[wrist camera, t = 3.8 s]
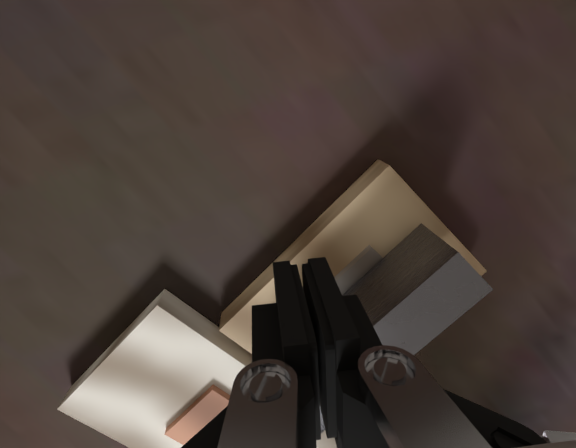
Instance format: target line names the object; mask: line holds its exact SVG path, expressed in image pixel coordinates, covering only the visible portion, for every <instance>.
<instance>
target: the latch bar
mask: <svg viewBox="0 0 576 448" xmlns="http://www.w3.org/2000/svg"><path fill="white" fill-rule="evenodd" d="M492 290H493V288H492V287H491V286H490V285H489V284H488V283H487V282H486V281H485V280H484V279H483V278H482V277H481V276H480V275H479V274H478V272H477V271H476V270H475V269H474V268H473V267H472V266H471V265H470V264H469V263H468V262H467V261H466V260H465V259H464V258H463V256H462V255H461V254H460V253H459V252H458V251H456V250H455V249H454V248H453V247H451V246H450V245H449V244H447V243H446V242H445V241H444V240H442V239H441V238H440V237H438V236H437V235H436V234H435V233H433V232H432V231H431V230H429V229H428V228H427V227H426V226H424V225H423V224H422V223H421V224H420V225H419V226H418V227H416V228H415V229H414V230H413V231H412V232H411V233H410V234H409V235H408V236H407V237H405V238H404V239H403V240H402V241H401V242H400V243H399V244H398V245H397V246H396V247H394V248H393V249H392V250H391V251H390V252H389V253H388V254H387V255H386V256H385V257H384V258H382V259H381V260H380V261H379V262H378V263H377V264H376V265H375V266H374V267H373V268H371V269H370V270H369V271H368V272H367V273H366V274H365V275H364V276H363V277H362V278H360V279H359V280H358V281H357V282H356V283H355V284H354V285H353V286H352V287H351V288H350V289H348V290H347V291H346V292H345V293H344V294H343V295H342V296H344V295H353V294H356V295H357V296H358V298H359V300H360V302H361V304H362V306H363V307H364V309H365V311H366V313H367V315H368V317H369V319H370V321H371V323H372V325H373V327H374V329H375V331H376V333H377V335H378V337H379V339H380V341H381V343H382V345H388V346H395V347H398V348H402V349H404V350H406V351H408V352H410V353H411V354H413V355H415V354H416V353H417V352H418V351H419V350H421V349H422V348H423V347H424V346H426V345H427V344H428V343H429V342H430V341H432V340H433V339H434V338H435V337H436V336H438V335H439V334H440V333H441V332H442V331H444V330H445V329H446V328H447V327H448V326H450V325H451V324H452V323H453V322H455V321H456V320H457V319H458V318H459V317H461V316H462V315H463V314H464V313H465V312H467V311H468V310H469V309H470V308H471V307H473V306H474V305H475V304H476V303H477V302H479V301H480V300H481V299H482V298H483V297H485V296H486V295H487V294H488V293H490V292H491V291H492ZM320 423H321V433H323V432H324V430H325V427H324V422H323V418H322V413H321V408H320Z"/></svg>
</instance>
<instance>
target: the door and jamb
mask: <svg viewBox="0 0 576 448" xmlns="http://www.w3.org/2000/svg"><path fill="white" fill-rule="evenodd" d="M421 223H422V224H423V225H424V226H426V227H427V228H428V229H429V230H431V231H432V232H433V233H435V234H436V235H437V236H438V237H440V238H441V239H442V240H444V241H445V242H446V243H447V244H449V245H450V246H451V247H453V248H454V249H455V250H456V251H458V252H459V253H460V254H461V255H462V256H463V258H464V259H465V260H466V261H467V262H468V263H469V264H470V265H471V266H472V267H473V268H474V269H475V270H476V271H477V272H478V274H479V275H480V276H482V275H483V274H484V273H485V272H487V271H486V269H485V268H484V267H483V266H482V265H481V264H480V263H479V262H478V261H477V260H476V259H475V257H474V256H473V255H472V254H471V253H470V252H469V251H468V250H467V249H466V248H465V247H464V246H463V244H462V243H461V242H460V241H459V240H458V239H457V238H456V237H455V236H454V235H453V234H452V233H451V231H450V230H449V229H448V228H447V227H446V226H445V225H444V224H443V223H442V222H441V221H440V220H439V218H438V217H437V216H436V215H435V214H434V213H433V212H432V211H431V210H430V209H429V208H428V206H427V205H426V204H425V203H424V202H423V201H422V200H421V199H420V198H419V197H418V196H417V195H416V193H415V192H414V191H413V190H412V189H411V188H410V187H409V186H408V185H407V184H406V183H405V182H404V180H403V179H402V178H401V177H400V176H399V175H398V174H397V173H396V172H395V171H394V170H393V168H392V167H391V166H390V165H388V164H386V163H384V162H383V161H381V160H379V159H377V160H376V161H375V162H374V163H373V164H372V165H371V166H370V167H369V168H368V169H367V170H366V171H365V172H364V173H363V174H362V175H361V176H360V177H359V178H358V179H357V180H356V181H355V182H354V183H353V184H352V185H351V186H350V187H349V188H348V189H347V190H346V191H345V192H344V193H343V194H342V195H341V196H340V197H339V198H338V199H337V200H336V201H335V202H334V203H333V204H332V205H331V206H330V207H329V208H328V209H327V210H326V211H325V212H324V213H322V214H321V215H320V216H319V217H318V218H317V219H316V220H315V221H314V222H313V223H312V224H311V225H310V226H309V227H308V228H307V229H306V230H305V231H304V232H303V233H302V234H301V235H300V236H299V237H298V238H297V239H296V240H295V241H294V242H293V243H292V244H291V245H290V246H289V247H288V248H287V249H286V250H285V251H284V252H283V253H282V254H281V255H280V256H279V257H278V258H277V259H276V260H275V261H274V262H280V261H290V264H291V265H295V264H297V267H298V271H299V275H300V279H301V283H302V286H303V282H302V264H305V263H308V259H310V258H320V257H325V258H326V260H327V262H328V264H329V266H330V269H331V271H332V273H333V276H334V278H335V280H336V283H337V285H338V287H339V290H340V292H341V294H342V295H343V294H344V293H345V292H346V291H347V290H348V289H350V288H351V287H352V286H353V285H354V284H355V283H356V282H357V281H358V280H359V279H360V278H362V277H363V276H364V275H365V274H366V273H367V272H368V271H369V270H370V269H371V268H373V267H374V266H375V265H376V264H377V263H378V262H379V261H380V260H381V259H382V258H384V257H385V256H386V255H387V254H388V253H389V252H390V251H391V250H392V249H393V248H394V247H396V246H397V245H398V244H399V243H400V242H401V241H402V240H403V239H404V238H405V237H407V236H408V235H409V234H410V233H411V232H412V231H413V230H414V229H415V228H416V227H418V226H419V225H420V224H421ZM270 303H276V296H275V285H274V274H273V263H272V264H271V265H270V266H269V267H267V268H266V269H265V270H264V271H263V272H262V273H261V274H260V275H259V276H258V277H257V278H256V279H255V280H254V281H253V282H252V283H251V284H250V285H249V286H248V287H247V288H246V289H245V290H244V291H243V292H242V293H241V294H240V295H239V296H238V297H237V298H236V299H235V300H234V301H233V302H232V303H231V304H230V305H229V306H228V307H227V308H226V309H225V310H224V311H223V312H222V313H221V319H220V327H218V326H217V325H215V324H214V323H212V322H211V321H209V320H208V319H207V318H205V317H204V316H202V315H201V314H200V313H198V312H197V311H195V310H194V309H193V308H191V307H190V306H188V305H187V304H186V303H184V302H183V301H181V300H180V299H179V298H177V297H176V296H174V295H173V294H172V293H170V292H169V291H167V290H166V289H164V290H163V291H162V292H161V293H160V294H159V295H158V296H157V297H156V298H155V299H154V300H153V301H152V302H151V303H150V304H149V306H148V307H147V308H146V309H145V310H144V311H143V312H142V313H141V314H140V315H139V316H138V317H137V318H136V319H135V320H134V321H133V322H132V323H131V324H130V325H129V326H128V327H127V329H126V330H125V331H124V332H123V333H122V334H121V335H120V336H119V337H118V338H117V339H116V340H115V341H114V342H113V343H112V344H111V345H110V346H109V347H108V348H107V349H106V350H105V352H104V353H103V354H102V355H101V356H100V357H99V358H98V359H97V360H96V361H95V362H94V363H93V364H92V365H91V366H90V367H89V368H88V369H87V370H86V371H85V372H84V373H83V375H82V376H81V377H80V378H79V379H78V380H77V381H76V382H75V383H74V384H73V385H72V386H71V387H70V389H69V391H68V392H67V394H66V396H65V397H64V399H63V401H62V402H61V404H60V405H59V407H58V409H57V410H59V411H61V412H63V413H65V414H67V415H69V416H71V417H72V418H74V419H76V420H78V421H80V422H82V423H84V424H86V425H88V426H89V427H91V428H93V429H95V430H97V431H99V432H101V433H103V434H104V435H106V436H108V437H110V438H112V439H114V440H116V441H118V442H120V443H121V444H123V445H125V446H127V447H129V448H181V447H182V446H183V445H184V444H185V443H187V442H188V441H189V440H190V439H191V438H192V437H193V436H194V435H195V434H197V433H198V432H199V431H200V430H201V429H202V428H203V427H204V426H206V425H207V424H208V423H209V422H210V421H211V420H212V419H213V418H215V417H216V416H217V415H218V414H219V413H220V412H221V411H222V410H223V409H225V408H226V407H227V406H228V403H229V398H230V394H231V390H232V386H233V382H234V380H235V378H236V376H237V374H238V373H239V372H240V371H241V370H242V368H244V367H245V366H247V365H248V364H250V363H252V305H261V304H270ZM316 445H317V448H337V446H336V442H335V438H329V439H328V438H327V436H326V432H325V430H324V432H323V433H321V440H316Z"/></svg>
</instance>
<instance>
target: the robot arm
mask: <svg viewBox="0 0 576 448" xmlns="http://www.w3.org/2000/svg"><path fill="white" fill-rule="evenodd" d="M273 274H274V285H275V296H276V303H270V304H261V305H252V363H250V364H248V365H247V366H245V367H244V368H242V370H241V371H240V372H239V373H238V374H237V376H236V378H235V380H234V382H233V386H232V390H231V394H230V398H229V403H228V406H227V407H226V408H225V409H223V410H222V411H221V412H220V413H219V414H218V415H217V416H216V417H215V418H213V419H212V420H211V421H210V422H209V423H208V424H207V425H206V426H204V427H203V428H202V429H201V430H200V431H199V432H198V433H197V434H195V435H194V436H193V437H192V438H191V439H190V440H189V441H188V442H187V443H185V444H184V445H183V446H182V447H181V448H317V445H316V440H321V423H320V408H321V413H322V418H323V422H324V427H325V432H326V436H327V438H328V439H329V438H335V442H336V446H337V448H576V433H572V432H559V431H546V430H544V432H543V435H542V436H539V435H538V434H536V433H535V432H534V431H533V430H531V429H529V428H527V427H525V426H524V425H522V424H520V423H518V422H515V421H513V420H511V419H509V418H507V417H504V416H502V415H500V414H498V413H495V412H493V411H491V410H489V409H487V408H484V407H482V406H480V405H478V404H475V403H473V402H471V401H469V400H467V399H464V398H462V397H460V396H458V395H455V394H453V393H451V392H449V391H447V390H444V389H442V387H441V386H440V385H439V384H438V383H437V381H436V380H435V379H434V378H433V377H432V375H431V374H430V373H429V372H428V371H427V370H426V368H425V367H424V366H423V365H422V364H421V362H420V361H419V360H418V359H417V358H416V357H415V356H414V355H413V354H411V353H410V352H408V351H406V350H404V349H402V348H398V347H395V346H388V345H382V343H381V341H380V339H379V337H378V335H377V333H376V331H375V329H374V327H373V325H372V323H371V321H370V319H369V317H368V315H367V313H366V311H365V309H364V307H363V306H362V304H361V302H360V300H359V298H358V296H357V295H356V294H353V295H344V296H342V294H341V292H340V290H339V287H338V285H337V283H336V280H335V278H334V276H333V273H332V271H331V269H330V266H329V264H328V262H327V260H326V258H325V257H320V258H310V259H308V263H305V264H302V282H303V286H302V283H301V279H300V275H299V271H298V267H297V264H295V265H291V264H290V261H280V262H273Z"/></svg>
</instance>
